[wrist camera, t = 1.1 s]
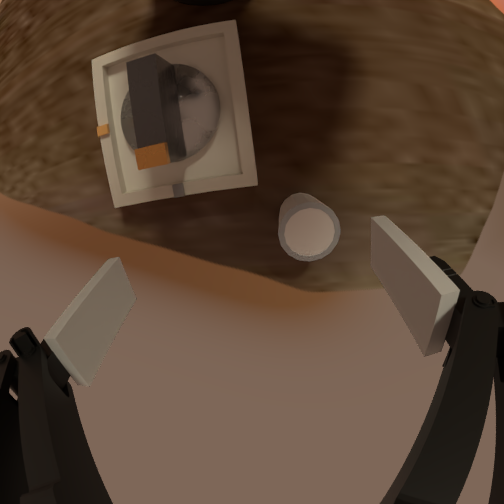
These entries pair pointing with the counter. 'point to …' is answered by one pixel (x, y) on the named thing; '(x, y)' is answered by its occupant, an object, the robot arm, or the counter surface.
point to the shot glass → (307, 227)
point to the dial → (167, 111)
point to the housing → (217, 149)
